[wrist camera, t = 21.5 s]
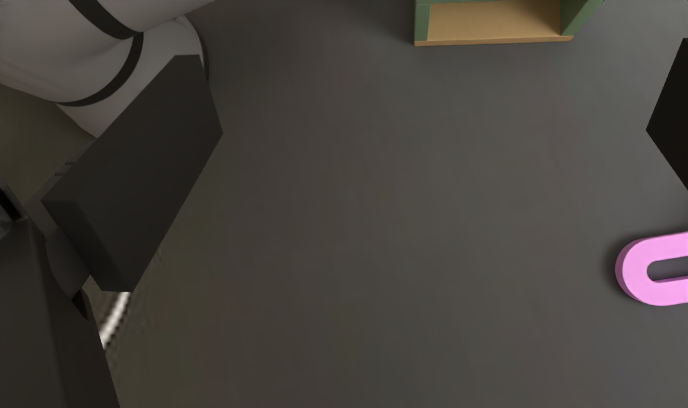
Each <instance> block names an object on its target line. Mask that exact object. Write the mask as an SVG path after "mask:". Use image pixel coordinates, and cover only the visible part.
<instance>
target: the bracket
mask: <svg viewBox="0 0 688 408" xmlns="http://www.w3.org/2000/svg"><path fill="white" fill-rule="evenodd" d="M682 256H688V231H685V232H679V233H673V234H667V235H661V236H655V237H648V238H642V239H638V240H635V241H633V242H631V243H629V244H628V245H626V246H625V247H624V248H623V249H622V250H621V252H620V253H619V255H618V257H617V260H616V264H615V274H616V278H617V281H618V283H619V285H620V287H621V288H622V289H623V291H624V292H625V293H626V294H628V295H629V296H630V297H632V298H634V299H635V300H638V301H641V302H644V303H648V304H651V305H657V306H665V305H672V304H679V303H686V302H688V276H683V277H677V278H670V279H664V280H657V281H651V280H650V279H649V278H648V276H647V272H646V270H647V267H648V265H649V264H650V263H651V262H653V261H657V260H663V259H670V258H676V257H682Z"/></svg>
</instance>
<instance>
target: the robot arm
mask: <svg viewBox="0 0 688 408" xmlns="http://www.w3.org/2000/svg"><path fill="white" fill-rule="evenodd" d="M214 1H216V0H0V84H2V85H5V86H8V87H11V88H14V89H17V90H19V91H22V92H25V93H28V94H31V95H34V96H36V97H39V98H42V99H45V100H48V101H51V102H53V103H55V104H56V105H57V106H58V107H59V108H60V109H61V110H63V111H64V112H65V113H66V114H67V115H68V116H69V117H70V118H72V119H73V120H74V121H75V122H76V123H77V125H79V126H80V127H81V128H82V129H83V130H85V131H86V132H88V133H90V134H91V135H93V136H94V137H96V138H95V139H94V140H92V141H91V142H89V143H87V144H86V145H84V146H83V147H81V148H79V149H78V150H77V151H76V152H75V153H74V154H73V155H72V156H71V157H70V158H69V159H68V160H67V161H66V162H65V165H62V166H61V167H60V168H59V169H58V170H57V171H56V173H55V176H52V177H51V178H50V179H49V180H48V181H47V182H46V183H45V184H44V185H43V186H42V187H41V188H40V189H39V190H38V191H37V192H36V193H35V194H34V195H33V197H32V198H31V199H30V200H29V201H28V202H27V203H26V204H25V205H24V206H22V205H21V203H20V202H19V200H18V199H17V198H16V196H15V195H14V194H13V192H12V191H11V189H10V188H9V187H8V185H7V184H6V182H5V181H4V180H3V179H0V408H120V405H119V402H118V398H117V395H116V391H115V388H114V384H113V381H112V378H111V374H110V371H109V367H108V364H107V360H106V357H105V353H104V350H103V346H102V343H101V339H100V336H99V333H98V329H97V326H96V322H95V319H94V315H93V312H92V308H91V305H90V301H89V298H88V296H87V295H86V293H85V292H84V290H83V289H82V288H81V287H82V286H83V284H84V283H85V281H86V280H87V278H88V277H89V275H90V274H91V276H92V277H93V279H94V280H95V282H96V283H97V285H98V286H99V287H100V289H101V290H102V291H115V292H133V291H134V289H135V287H136V286H137V284H138V282H139V280H140V279H141V277H142V275H143V273H144V271H145V270H146V268H147V266H148V264H149V263H150V261H151V259H152V257H153V256H154V254H155V252H156V250H157V249H158V247H159V245H160V243H161V242H162V240H163V238H164V236H165V235H166V233H167V231H168V229H169V228H170V226H171V224H172V222H173V221H174V219H175V217H176V215H177V214H178V212H179V210H180V208H181V206H182V205H183V203H184V201H185V199H186V198H187V196H188V194H189V192H190V191H191V189H192V187H193V185H194V184H195V182H196V180H197V178H198V177H199V175H200V173H201V171H202V170H203V168H204V166H205V164H206V163H207V161H208V159H209V157H210V156H211V154H212V152H213V150H214V148H215V147H216V145H217V143H218V141H219V140H220V138H221V136H222V134H223V132H222V129H221V125H220V122H219V119H218V115H217V112H216V109H215V105H214V102H213V99H212V95H211V92H210V89H209V85H208V74H209V64H208V56H207V51H206V48H205V44H204V42H203V39H202V37H201V35H200V34H199V32H198V30H197V29H196V27H195V26H194V25H193V24H192V23H191V21H190V20H189V19H188V18H187V17H186V16H185V15H184V14H186V13H189V12H191V11H193V10H195V9H198V8H200V7H202V6H205V5H207V4H209V3H212V2H214ZM646 131H647V133H648V134H649V136H650V137H651V138H652V140H653V141H654V143H655V144H656V146H657V147H658V148H659V150H660V151H661V153H662V154H663V156H664V157H665V158H666V160H667V161H668V163H669V164H670V166H671V167H672V168H673V170H674V171H675V173H676V174H677V176H678V177H679V178H680V180H681V181H682V183H683V184H684V186H685V187H686V188H687V190H688V38H683V40H682V42H681V45H680V47H679V50H678V52H677V55H676V57H675V60H674V62H673V65H672V67H671V69H670V72H669V74H668V77H667V79H666V82H665V84H664V87H663V89H662V91H661V94H660V96H659V99H658V101H657V104H656V106H655V109H654V111H653V113H652V116H651V118H650V121H649V123H648V126H647V128H646Z"/></svg>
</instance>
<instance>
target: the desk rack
mask: <svg viewBox="0 0 688 408" xmlns="http://www.w3.org/2000/svg"><path fill="white" fill-rule="evenodd" d="M603 1H604V0H415V11H414V46H439V45H469V44H498V43H528V42H557V41H570V40H571V39H572V38H573V36H574V35H575V34H576V33H577V32H578V31H579V29H580V28H581V27H582V26H583V25H584V23H585V22H586V21H587V20H588V19H589V17H590V16H591V15H592V14H593V13H594V11H595V10H596V9H597V8H598V7H599V6H600V4H601V3H602V2H603Z"/></svg>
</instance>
